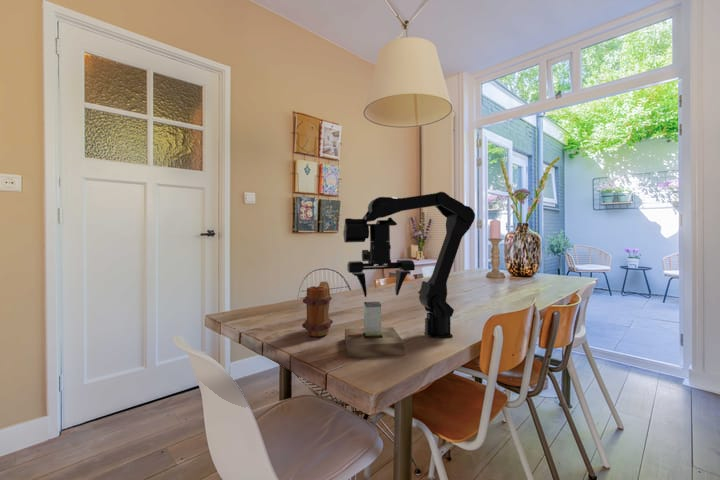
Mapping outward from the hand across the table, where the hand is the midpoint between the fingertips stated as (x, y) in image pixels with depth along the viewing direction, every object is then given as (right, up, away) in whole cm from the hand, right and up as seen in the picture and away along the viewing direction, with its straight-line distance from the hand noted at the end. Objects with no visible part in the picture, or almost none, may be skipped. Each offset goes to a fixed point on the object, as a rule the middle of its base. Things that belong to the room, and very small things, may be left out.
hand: (381, 295), depth 94 cm
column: (-3, -9, -7) cm, 12 cm away
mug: (-18, -13, +6) cm, 23 cm away
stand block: (-3, -12, -7) cm, 14 cm away
